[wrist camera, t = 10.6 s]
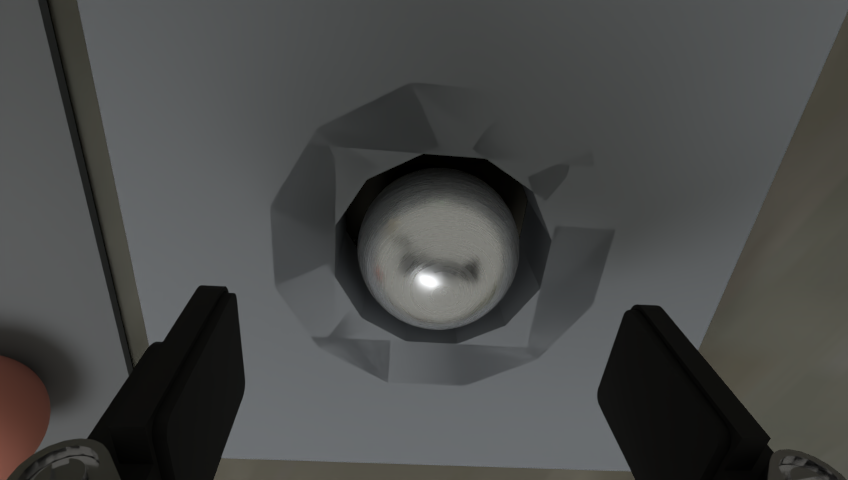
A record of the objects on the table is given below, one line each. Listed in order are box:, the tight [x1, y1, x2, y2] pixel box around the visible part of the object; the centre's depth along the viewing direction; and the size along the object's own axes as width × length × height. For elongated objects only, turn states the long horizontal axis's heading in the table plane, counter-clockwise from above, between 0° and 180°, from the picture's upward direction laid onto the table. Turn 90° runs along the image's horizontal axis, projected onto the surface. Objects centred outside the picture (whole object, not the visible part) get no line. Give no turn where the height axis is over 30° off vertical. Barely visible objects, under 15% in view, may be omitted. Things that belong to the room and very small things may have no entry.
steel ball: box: [357, 168, 519, 330], centre depth 17 cm, size 6×6×6 cm
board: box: [77, 0, 848, 471], centre depth 18 cm, size 20×20×4 cm
